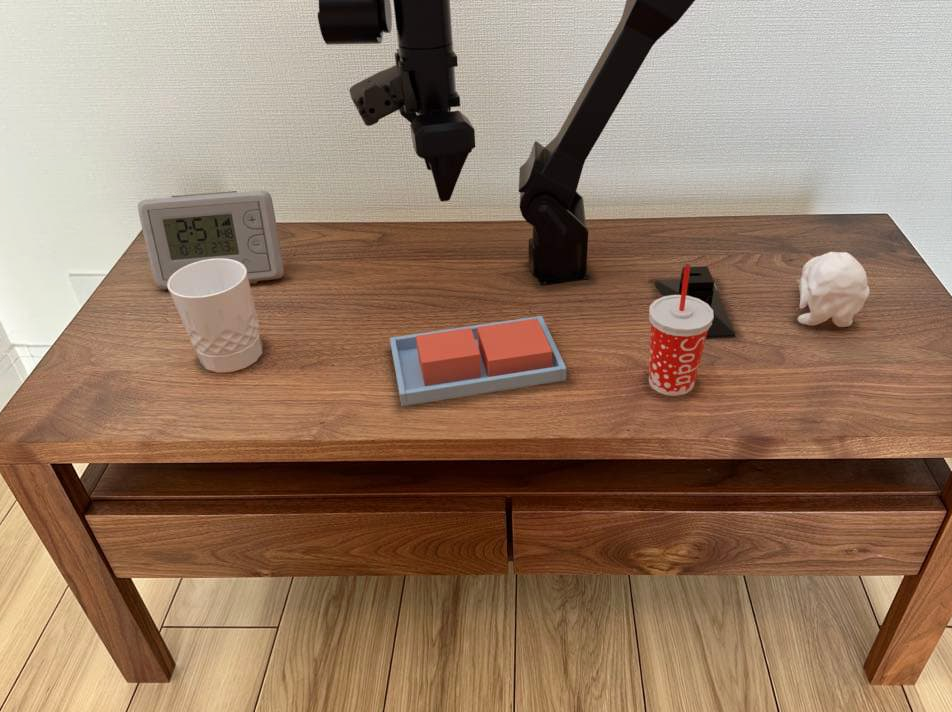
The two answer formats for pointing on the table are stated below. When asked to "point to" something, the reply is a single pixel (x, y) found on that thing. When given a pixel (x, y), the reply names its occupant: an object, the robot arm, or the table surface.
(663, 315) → the beverage cup
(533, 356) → the pad
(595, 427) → the table surface
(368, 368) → the table surface
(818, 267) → the white lumpy figurine
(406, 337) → the tray
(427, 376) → the loose pad
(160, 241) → the digital clock
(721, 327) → the black stand
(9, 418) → the table surface
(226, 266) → the white cup
